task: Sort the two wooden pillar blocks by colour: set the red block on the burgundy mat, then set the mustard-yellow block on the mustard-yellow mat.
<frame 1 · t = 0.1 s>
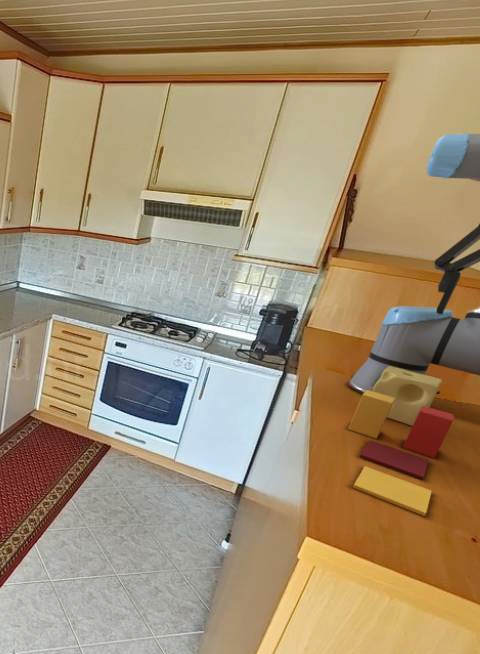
red mat: (393, 459, 90), on the worktop
yellow mat: (391, 490, 79), on the worktop
cheese: (394, 415, 113), on the worktop
yellow block: (364, 430, 102), on the worktop
red block: (419, 449, 96), on the worktop
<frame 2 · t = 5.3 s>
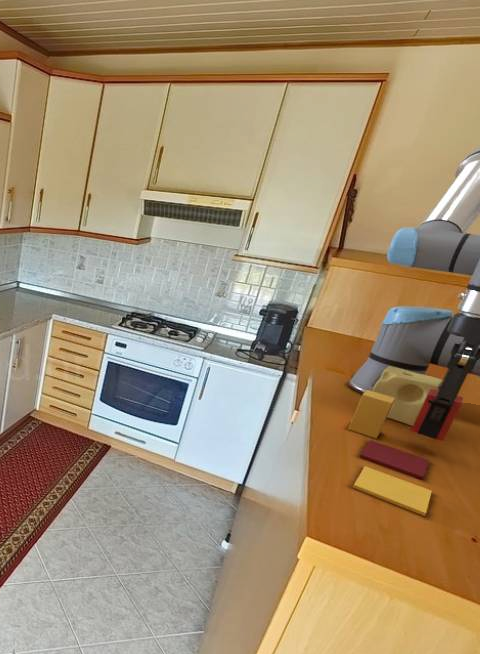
hand: (428, 431, 95), 4 cm above the worktop, tool pointing down, fingers closed on red block, 5 cm apart
red block: (427, 432, 95), point 4 cm above the worktop, touching gripper
everything else where it was.
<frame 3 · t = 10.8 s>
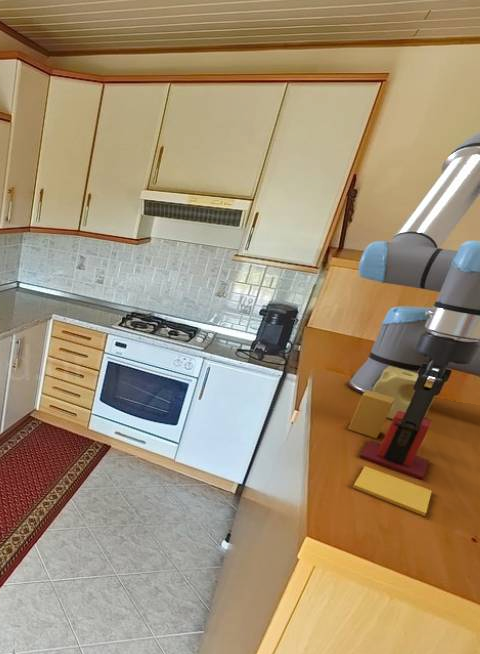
hand: (395, 455, 90), 1 cm above the worktop, tool pointing down, fingers closed on red block, 5 cm apart
red block: (394, 457, 90), point 1 cm above the worktop, touching gripper
everything else where it was.
when the fingers open (1 cm above the worktop, at t = 13.7 s): red block stays where it is, resting on red mat.
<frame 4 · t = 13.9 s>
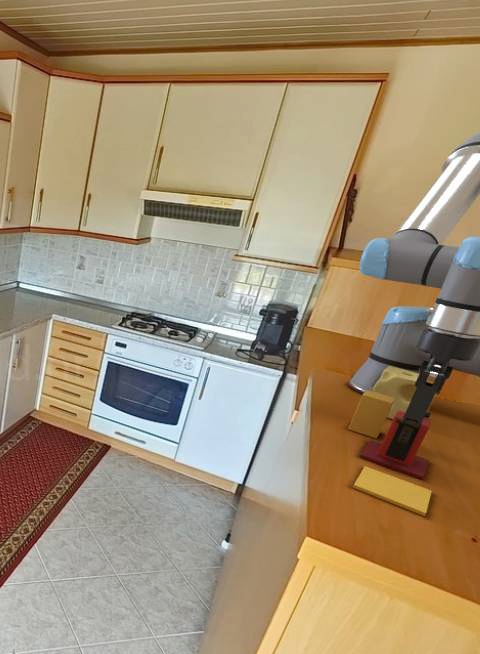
hand: (397, 451, 90), 2 cm above the worktop, tool pointing down, fingers open, 7 cm apart
red block: (395, 456, 90), point 1 cm above the worktop, touching red mat
everything else where it was.
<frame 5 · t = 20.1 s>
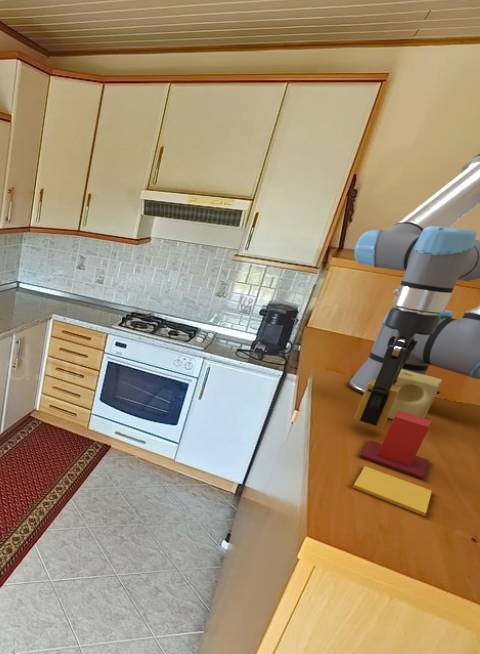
hand: (370, 419, 101), 3 cm above the worktop, tool pointing down, fingers closed on yellow block, 5 cm apart
yellow block: (369, 420, 101), point 2 cm above the worktop, touching gripper
everything else where it was.
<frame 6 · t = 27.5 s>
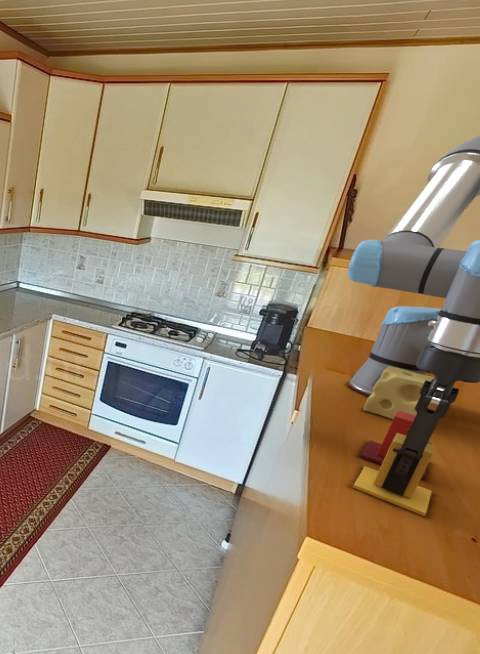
hand: (394, 484, 79), 1 cm above the worktop, tool pointing down, fingers closed on yellow block, 5 cm apart
yellow block: (393, 486, 79), point 1 cm above the worktop, touching gripper
everything else where it was.
when the fingers open (1 cm above the worktop, at t = 30.2 s): yellow block stays where it is, resting on yellow mat.
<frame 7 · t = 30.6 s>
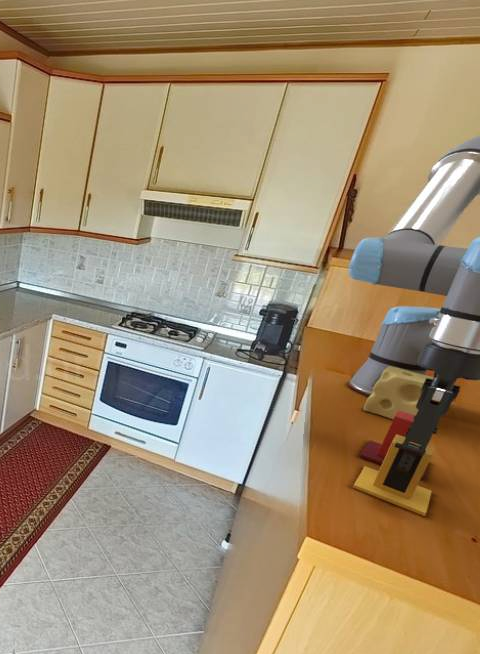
hand: (398, 476, 78), 3 cm above the worktop, tool pointing down, fingers open, 11 cm apart
yellow block: (393, 487, 79), point 1 cm above the worktop, touching yellow mat
everything else where it was.
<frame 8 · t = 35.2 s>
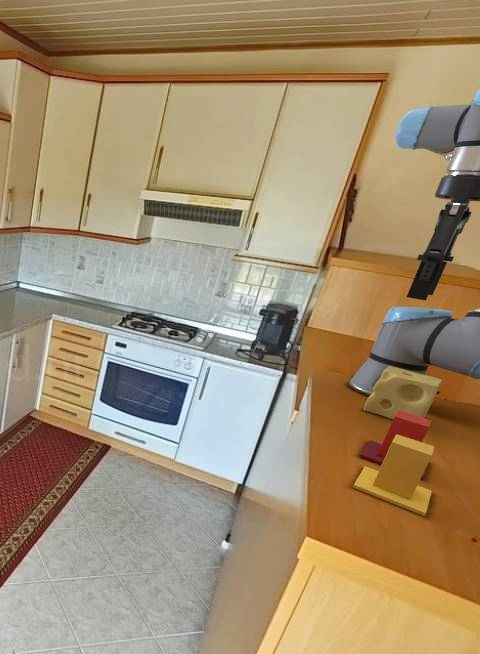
hand: (419, 296, 92), 29 cm above the worktop, tool pointing down, fingers open, 13 cm apart
nothing on the worktop moved.
at the end: red block 0.1 cm off-centre on the red mat, point 0.6 cm above the red mat's base; yellow block 0.1 cm off-centre on the yellow mat, point 0.6 cm above the yellow mat's base; yellow block tilted 0° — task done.
